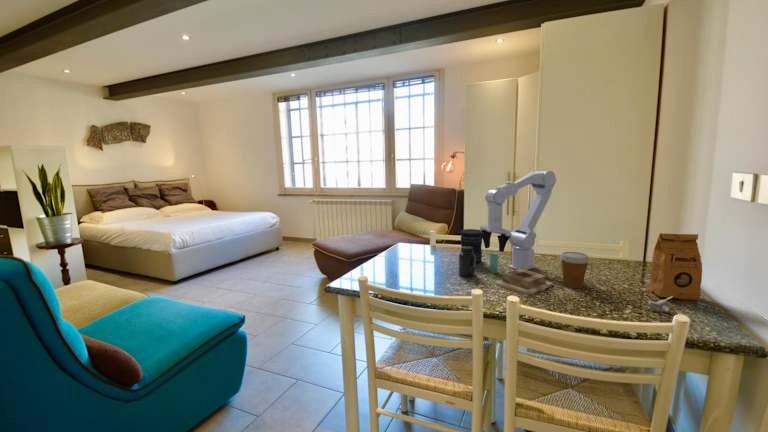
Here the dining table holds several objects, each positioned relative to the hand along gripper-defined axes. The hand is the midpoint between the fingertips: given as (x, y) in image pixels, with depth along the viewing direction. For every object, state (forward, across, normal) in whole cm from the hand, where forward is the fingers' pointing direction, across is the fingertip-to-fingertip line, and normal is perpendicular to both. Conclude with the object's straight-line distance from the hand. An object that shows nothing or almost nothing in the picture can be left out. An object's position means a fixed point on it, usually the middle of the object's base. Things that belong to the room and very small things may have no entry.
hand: (494, 249), depth 144 cm
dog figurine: (+10, +55, +11) cm, 57 cm away
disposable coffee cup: (+10, +28, +11) cm, 32 cm away
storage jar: (+10, -16, +3) cm, 19 cm away
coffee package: (+10, +53, +28) cm, 61 cm away
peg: (+10, 0, 0) cm, 10 cm away
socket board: (+10, +17, -3) cm, 20 cm away
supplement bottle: (+10, -4, -12) cm, 16 cm away
